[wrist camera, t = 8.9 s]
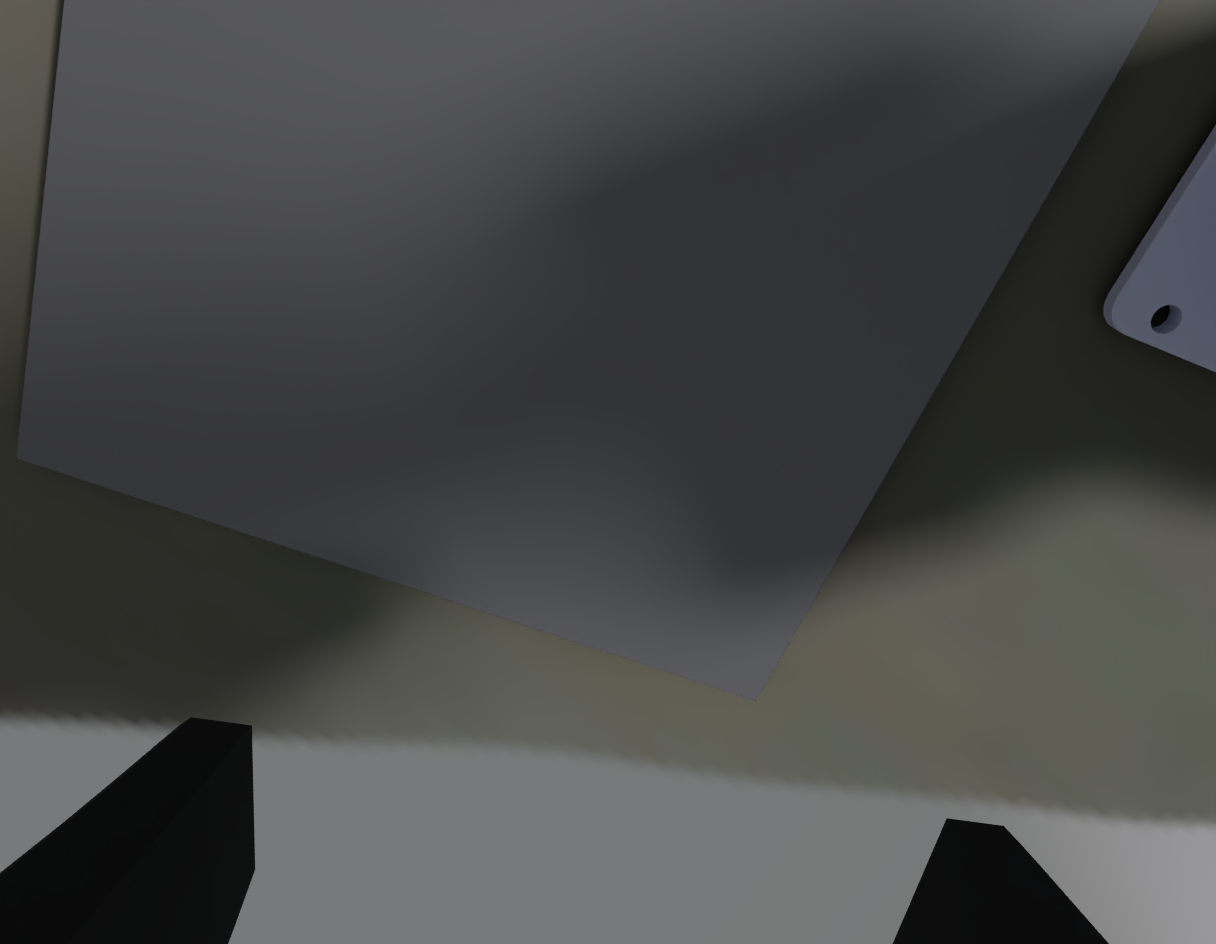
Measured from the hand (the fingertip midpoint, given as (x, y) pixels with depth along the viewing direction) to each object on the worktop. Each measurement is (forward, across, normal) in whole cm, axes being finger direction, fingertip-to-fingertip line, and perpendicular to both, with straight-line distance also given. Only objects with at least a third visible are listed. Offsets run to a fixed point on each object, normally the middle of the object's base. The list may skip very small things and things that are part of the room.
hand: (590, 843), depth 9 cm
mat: (+9, +2, -4) cm, 11 cm away
